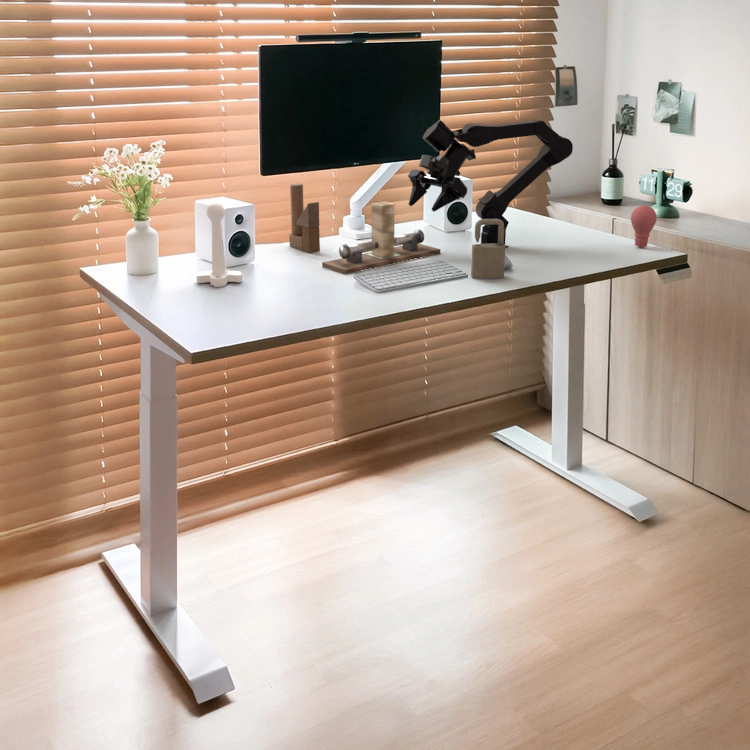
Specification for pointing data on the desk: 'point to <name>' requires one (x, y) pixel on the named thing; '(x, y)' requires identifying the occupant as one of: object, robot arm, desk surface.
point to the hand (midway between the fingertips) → (421, 207)
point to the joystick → (218, 252)
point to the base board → (379, 259)
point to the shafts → (355, 251)
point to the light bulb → (643, 224)
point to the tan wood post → (383, 228)
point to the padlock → (488, 253)
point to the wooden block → (304, 222)
